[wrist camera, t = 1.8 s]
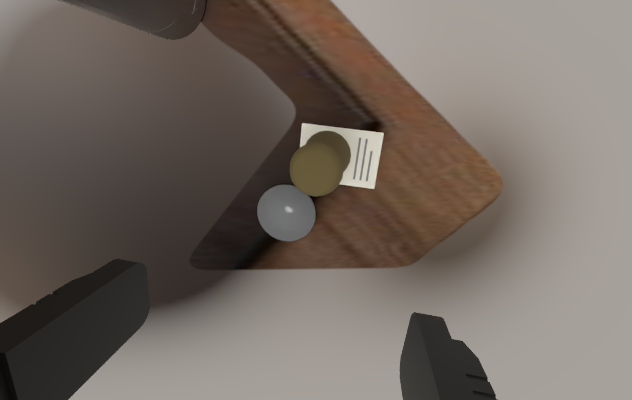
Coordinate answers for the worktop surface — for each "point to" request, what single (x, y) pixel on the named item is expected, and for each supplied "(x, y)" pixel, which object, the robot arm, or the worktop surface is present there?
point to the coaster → (286, 212)
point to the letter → (354, 153)
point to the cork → (320, 163)
